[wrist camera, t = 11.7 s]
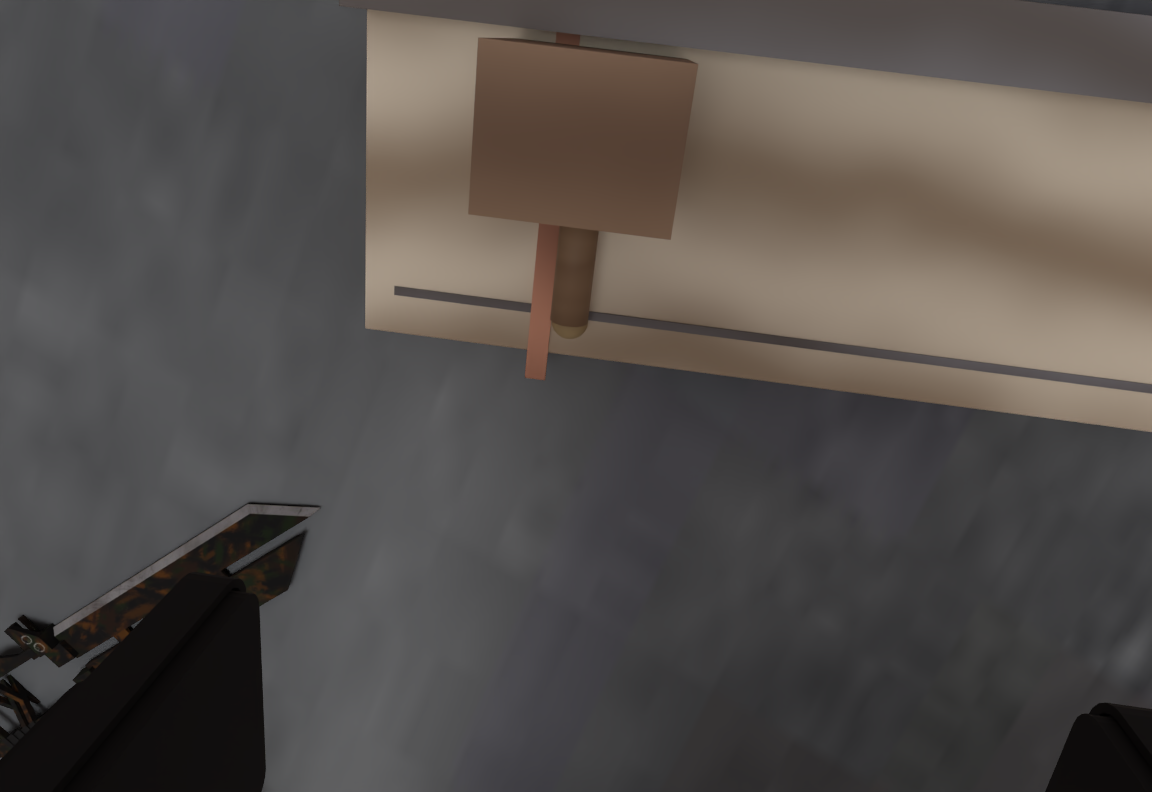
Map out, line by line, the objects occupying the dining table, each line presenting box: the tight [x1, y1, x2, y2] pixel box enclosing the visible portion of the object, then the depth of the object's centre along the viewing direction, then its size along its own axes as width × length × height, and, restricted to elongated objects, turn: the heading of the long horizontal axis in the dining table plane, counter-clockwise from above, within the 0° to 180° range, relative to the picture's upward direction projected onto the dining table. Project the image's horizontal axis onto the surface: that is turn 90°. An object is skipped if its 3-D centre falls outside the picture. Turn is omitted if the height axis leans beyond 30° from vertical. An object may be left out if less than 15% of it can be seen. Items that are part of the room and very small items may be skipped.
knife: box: [0, 504, 320, 758], centre depth 37 cm, size 25×6×1 cm, turn 119°
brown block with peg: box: [468, 37, 698, 339], centre depth 23 cm, size 9×5×6 cm, turn 174°
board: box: [339, 0, 1152, 432], centre depth 25 cm, size 13×28×4 cm, turn 84°
